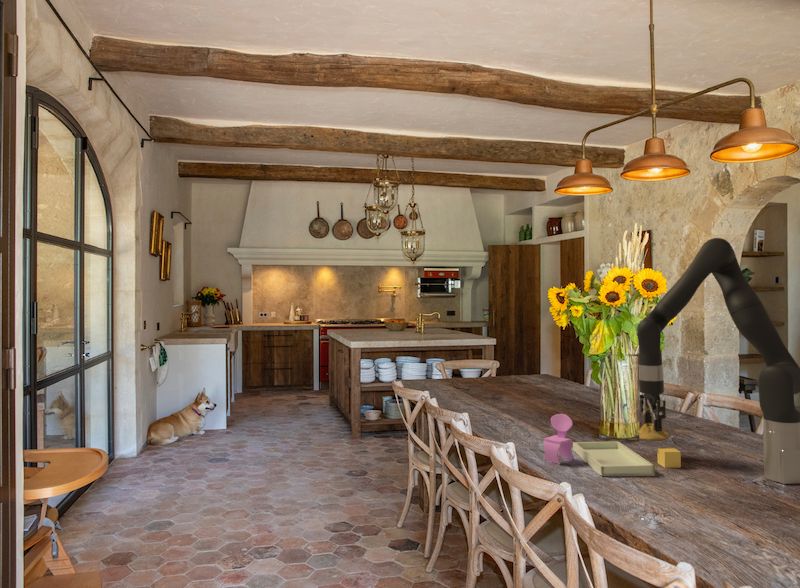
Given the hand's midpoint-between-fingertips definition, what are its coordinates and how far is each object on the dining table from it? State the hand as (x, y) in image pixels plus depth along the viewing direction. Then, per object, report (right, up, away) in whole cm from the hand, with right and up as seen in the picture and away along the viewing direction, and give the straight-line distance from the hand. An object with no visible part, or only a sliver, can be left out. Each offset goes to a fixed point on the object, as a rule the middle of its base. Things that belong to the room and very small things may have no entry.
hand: (653, 428), depth 187 cm
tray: (-16, -10, -4) cm, 19 cm away
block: (+1, -10, -8) cm, 13 cm away
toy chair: (-32, -10, -1) cm, 33 cm away
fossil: (0, -3, -1) cm, 3 cm away
